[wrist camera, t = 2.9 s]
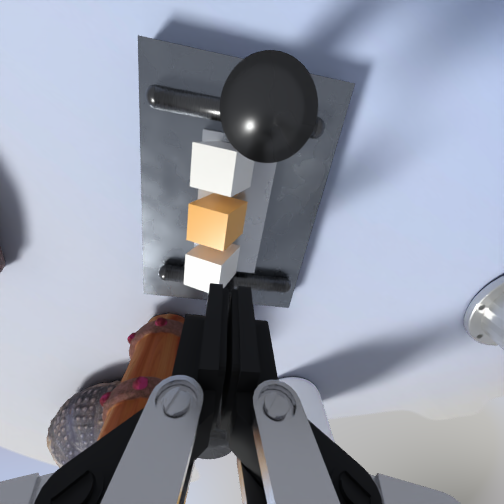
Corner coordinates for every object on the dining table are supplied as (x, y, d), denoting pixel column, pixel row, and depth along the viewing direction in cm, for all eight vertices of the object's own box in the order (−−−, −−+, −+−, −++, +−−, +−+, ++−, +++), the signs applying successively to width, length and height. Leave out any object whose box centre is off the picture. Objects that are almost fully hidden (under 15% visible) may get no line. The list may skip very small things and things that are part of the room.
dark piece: (343, 86, 22) (650, 4, 6) (284, 294, 32) (337, 481, 16) (148, 44, 20) (-231, -272, 4) (150, 280, 30) (49, 479, 14)
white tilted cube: (256, 149, 19) (236, 151, 16) (250, 186, 20) (230, 197, 17) (219, 140, 20) (192, 141, 16) (215, 178, 21) (189, 186, 17)
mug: (132, 301, 31) (57, 440, 18) (201, 300, 32) (177, 433, 18) (151, 381, 38) (106, 525, 25) (207, 379, 38) (193, 518, 25)
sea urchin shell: (35, 386, 36) (-13, 468, 27) (169, 345, 39) (165, 408, 30) (94, 456, 45) (72, 536, 36) (201, 419, 47) (205, 485, 38)
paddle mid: (247, 201, 21) (228, 214, 17) (242, 233, 22) (223, 251, 19) (214, 192, 21) (188, 203, 18) (210, 224, 23) (186, 239, 19)
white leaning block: (240, 246, 23) (221, 265, 19) (235, 273, 24) (217, 296, 20) (209, 236, 23) (185, 254, 20) (206, 263, 25) (183, 284, 21)
